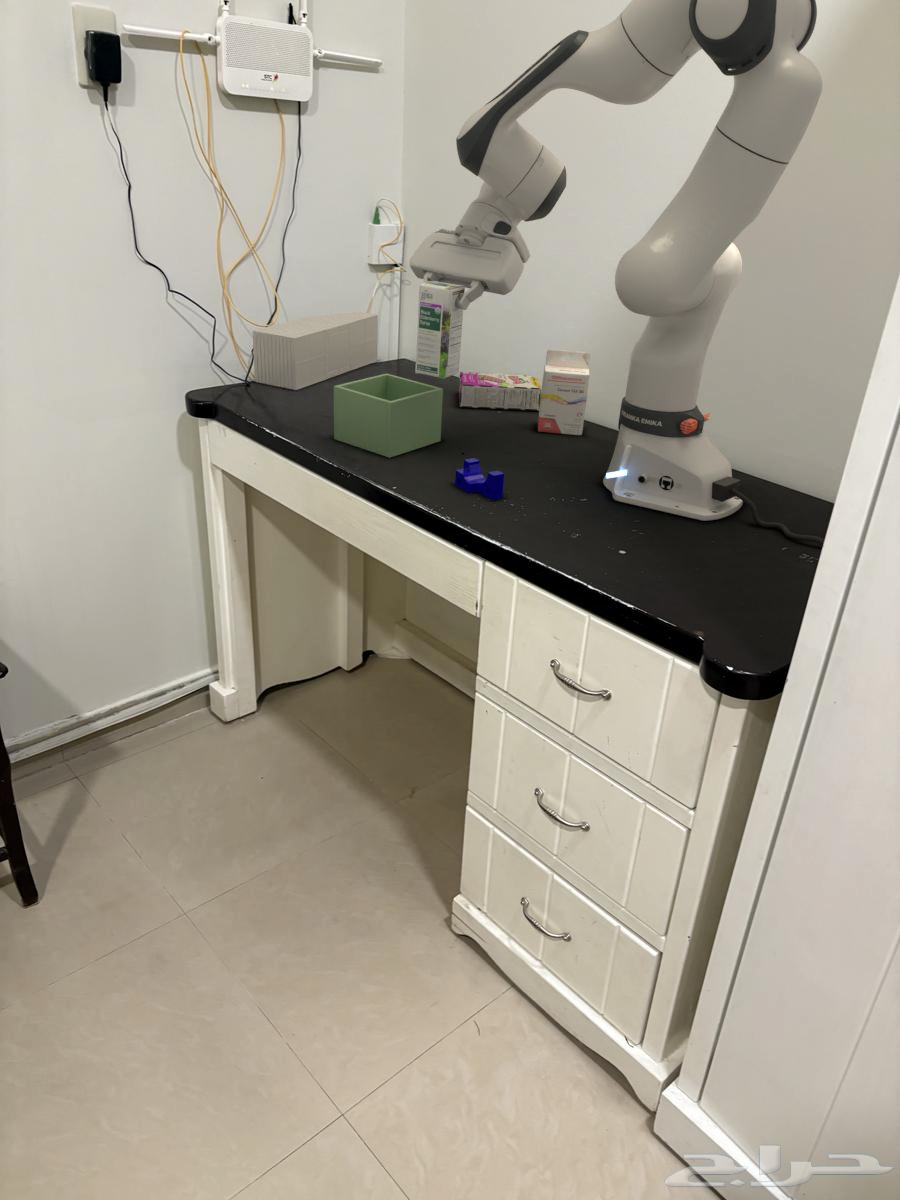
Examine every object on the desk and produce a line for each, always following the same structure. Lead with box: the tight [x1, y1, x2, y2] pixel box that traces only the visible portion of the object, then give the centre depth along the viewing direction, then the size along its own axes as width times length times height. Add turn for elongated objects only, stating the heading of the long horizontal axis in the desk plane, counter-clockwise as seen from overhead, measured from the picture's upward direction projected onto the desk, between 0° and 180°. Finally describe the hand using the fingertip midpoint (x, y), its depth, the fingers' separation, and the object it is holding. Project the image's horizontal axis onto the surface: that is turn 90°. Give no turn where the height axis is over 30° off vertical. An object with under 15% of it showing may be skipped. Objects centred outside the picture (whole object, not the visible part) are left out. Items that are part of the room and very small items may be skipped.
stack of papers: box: [251, 311, 379, 391], centre depth 206 cm, size 32×11×11 cm
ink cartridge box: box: [537, 348, 591, 436], centre depth 175 cm, size 9×5×15 cm, turn 84°
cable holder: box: [454, 457, 505, 501], centre depth 146 cm, size 8×4×4 cm, turn 34°
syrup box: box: [414, 281, 466, 380], centre depth 154 cm, size 6×6×14 cm
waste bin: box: [333, 373, 444, 459], centre depth 165 cm, size 14×14×10 cm
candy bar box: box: [458, 371, 542, 412], centre depth 192 cm, size 11×5×16 cm
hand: (441, 303), depth 152 cm, fingers closed on syrup box, 6 cm apart
